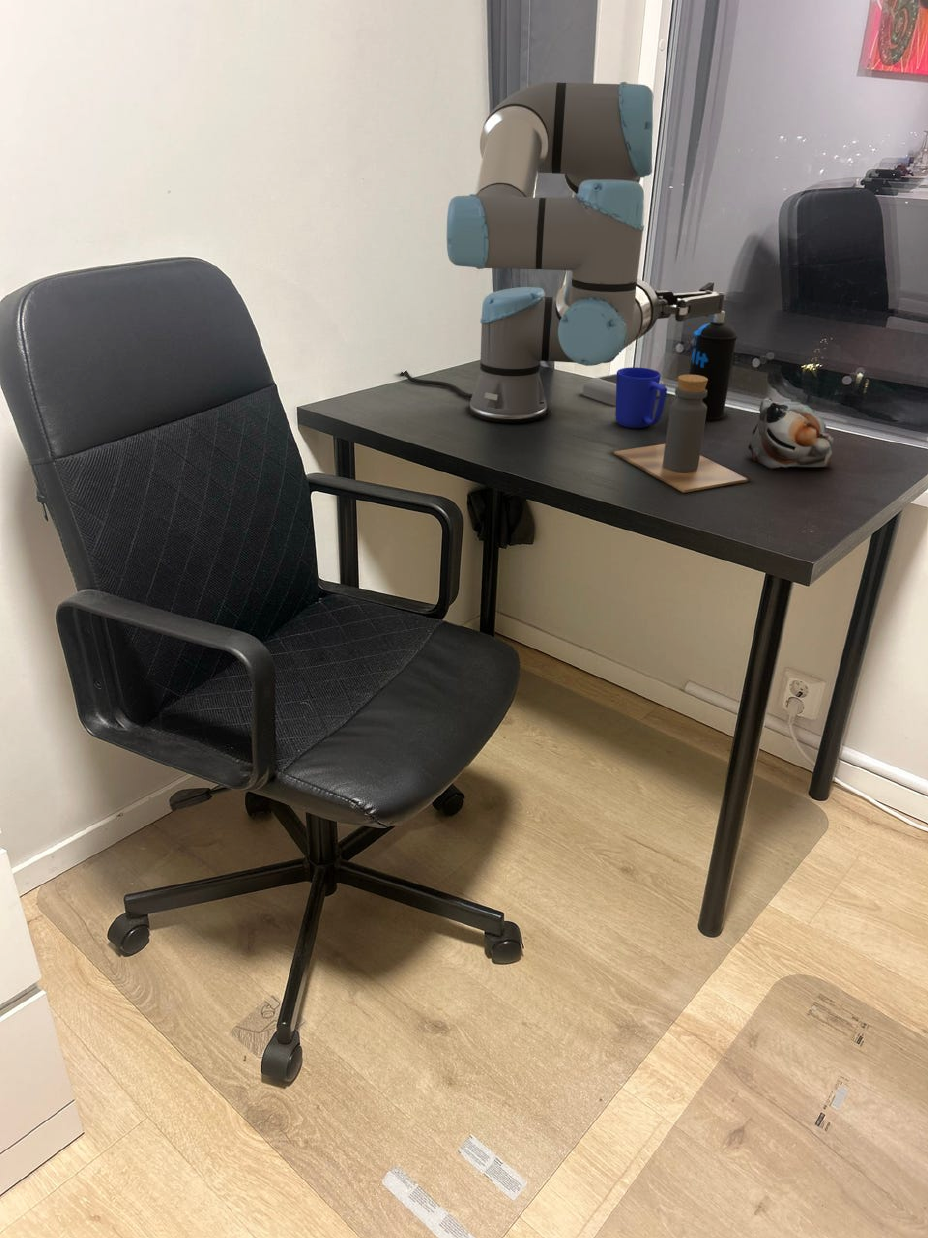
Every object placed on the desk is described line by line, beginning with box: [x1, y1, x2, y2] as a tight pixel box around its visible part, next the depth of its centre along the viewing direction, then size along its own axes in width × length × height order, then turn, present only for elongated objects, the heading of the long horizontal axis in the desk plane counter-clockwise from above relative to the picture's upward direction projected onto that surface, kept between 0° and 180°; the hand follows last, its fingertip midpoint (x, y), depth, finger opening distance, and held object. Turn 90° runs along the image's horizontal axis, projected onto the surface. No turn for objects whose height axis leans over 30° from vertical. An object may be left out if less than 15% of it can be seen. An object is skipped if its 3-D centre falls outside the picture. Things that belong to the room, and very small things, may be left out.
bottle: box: [663, 374, 708, 473], centre depth 145 cm, size 6×6×15 cm
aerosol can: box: [688, 310, 739, 422], centre depth 172 cm, size 8×8×20 cm
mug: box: [615, 366, 668, 429], centre depth 166 cm, size 8×12×10 cm
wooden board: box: [613, 443, 749, 494], centre depth 150 cm, size 20×13×1 cm, turn 25°
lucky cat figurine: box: [748, 397, 835, 470], centre depth 149 cm, size 15×12×14 cm
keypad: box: [582, 373, 667, 407], centre depth 187 cm, size 10×4×15 cm
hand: (663, 288), depth 129 cm, fingers open, 13 cm apart
